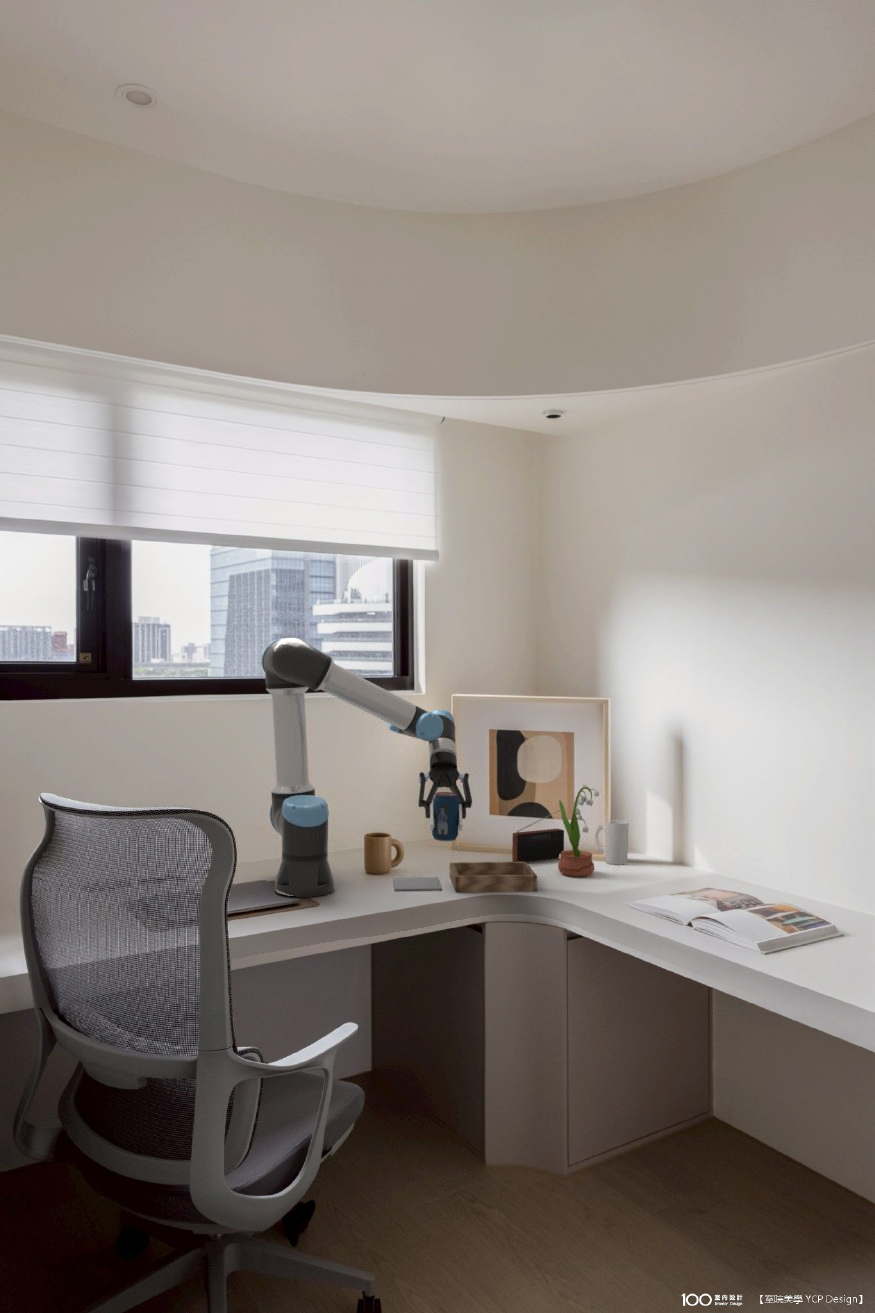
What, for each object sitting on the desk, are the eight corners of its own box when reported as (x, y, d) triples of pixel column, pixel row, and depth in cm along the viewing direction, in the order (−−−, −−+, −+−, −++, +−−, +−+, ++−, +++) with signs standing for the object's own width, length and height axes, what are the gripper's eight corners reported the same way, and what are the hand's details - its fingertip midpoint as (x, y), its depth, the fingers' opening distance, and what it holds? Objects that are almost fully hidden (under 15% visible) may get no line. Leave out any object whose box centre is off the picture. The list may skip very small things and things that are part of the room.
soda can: (452, 836, 245) (454, 791, 245) (461, 841, 238) (463, 795, 238) (428, 836, 242) (429, 791, 242) (436, 842, 236) (438, 796, 236)
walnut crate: (455, 892, 232) (455, 876, 232) (449, 877, 248) (449, 862, 248) (536, 891, 234) (536, 875, 234) (525, 876, 250) (525, 861, 250)
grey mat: (394, 891, 233) (394, 889, 233) (392, 879, 245) (392, 877, 245) (441, 890, 234) (441, 888, 234) (437, 879, 246) (437, 877, 246)
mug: (631, 861, 269) (631, 821, 269) (624, 866, 263) (624, 824, 263) (598, 857, 273) (598, 818, 273) (590, 862, 268) (591, 821, 268)
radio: (517, 864, 265) (518, 812, 265) (512, 861, 267) (512, 811, 267) (570, 858, 273) (570, 808, 273) (564, 856, 276) (564, 806, 276)
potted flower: (589, 868, 260) (590, 781, 260) (607, 876, 250) (607, 785, 250) (551, 871, 256) (552, 782, 256) (567, 879, 246) (568, 787, 246)
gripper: (477, 767, 256) (482, 836, 240) (406, 766, 255) (407, 835, 239) (479, 750, 251) (485, 819, 235) (408, 749, 250) (409, 818, 233)
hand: (446, 827), depth 237 cm, fingers closed on soda can, 7 cm apart
